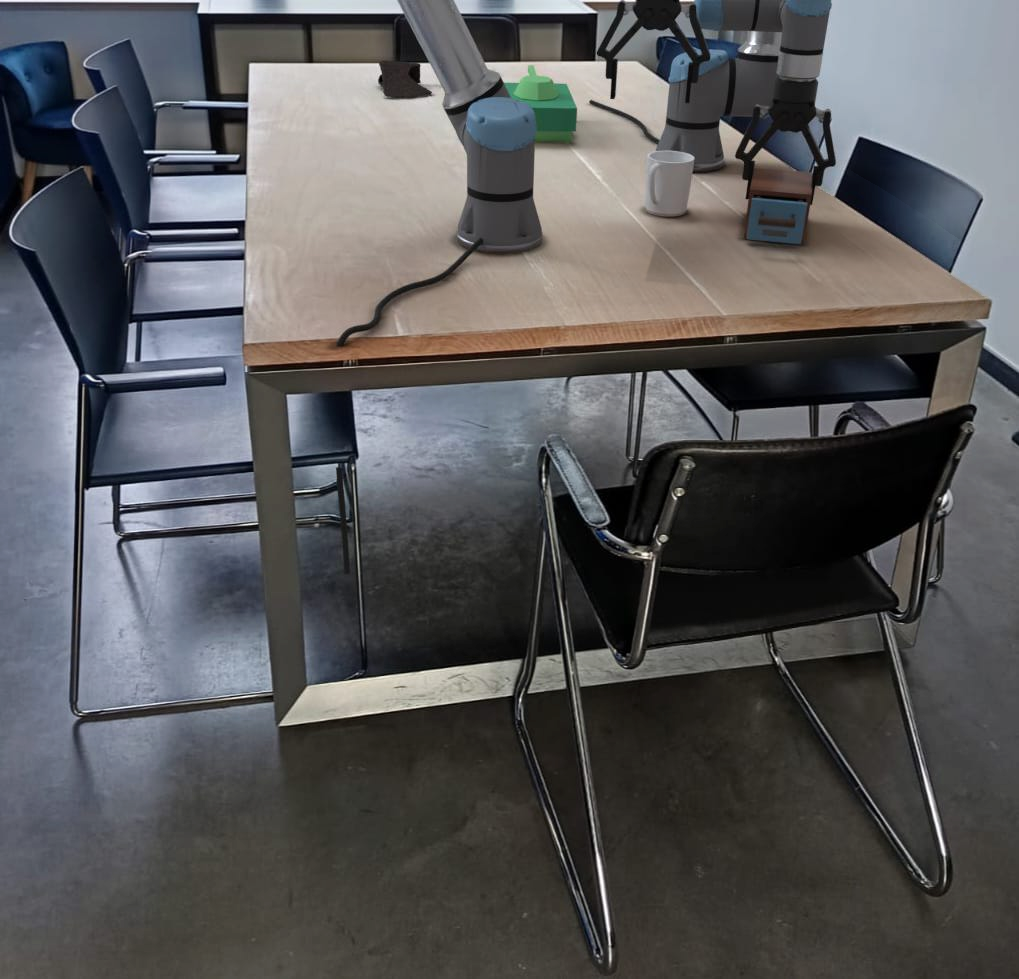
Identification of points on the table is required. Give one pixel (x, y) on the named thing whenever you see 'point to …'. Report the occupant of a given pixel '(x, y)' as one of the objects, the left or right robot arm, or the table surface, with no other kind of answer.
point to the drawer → (777, 219)
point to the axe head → (401, 79)
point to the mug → (668, 182)
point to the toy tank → (547, 106)
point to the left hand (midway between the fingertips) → (649, 99)
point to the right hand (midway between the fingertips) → (778, 200)
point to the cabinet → (781, 188)
